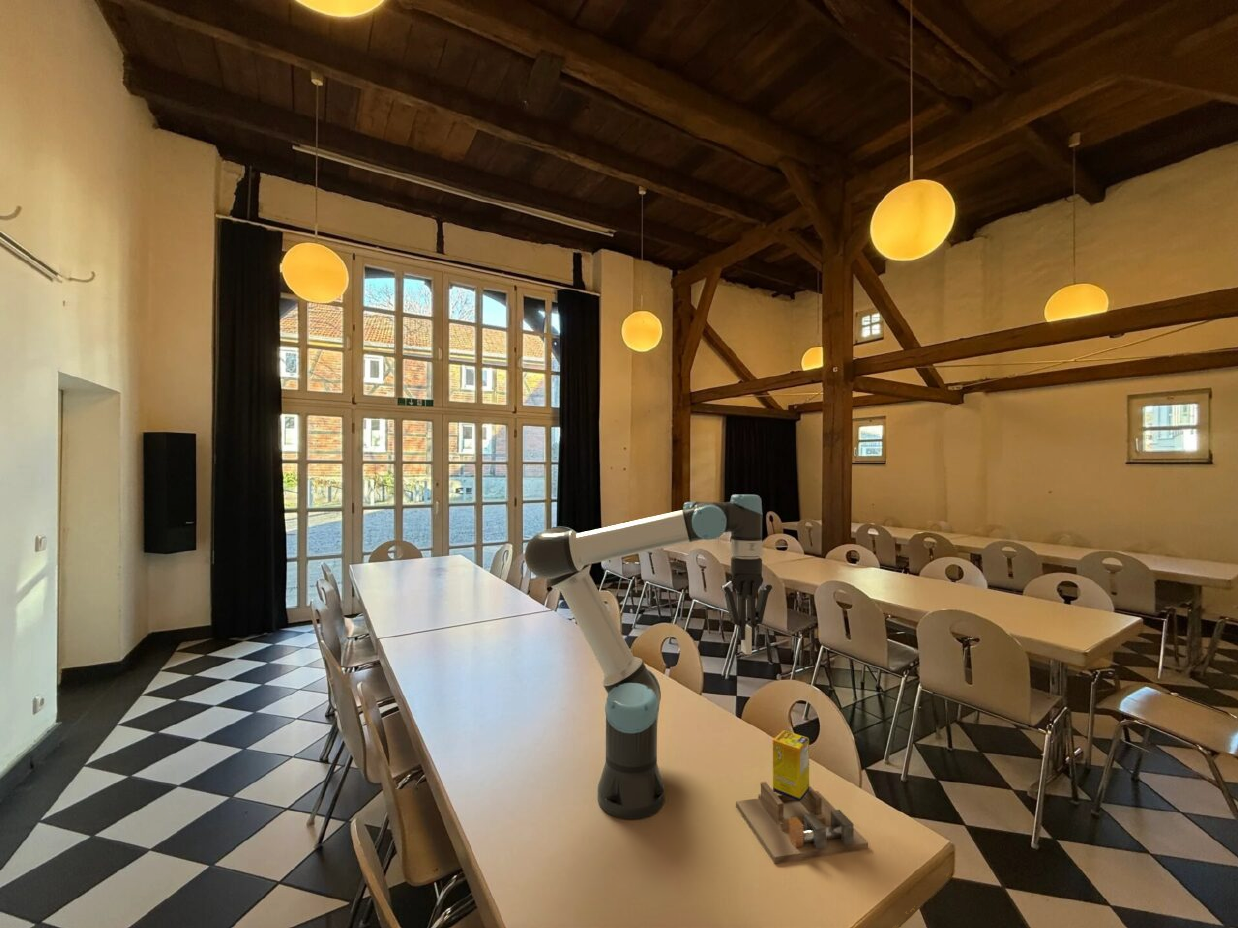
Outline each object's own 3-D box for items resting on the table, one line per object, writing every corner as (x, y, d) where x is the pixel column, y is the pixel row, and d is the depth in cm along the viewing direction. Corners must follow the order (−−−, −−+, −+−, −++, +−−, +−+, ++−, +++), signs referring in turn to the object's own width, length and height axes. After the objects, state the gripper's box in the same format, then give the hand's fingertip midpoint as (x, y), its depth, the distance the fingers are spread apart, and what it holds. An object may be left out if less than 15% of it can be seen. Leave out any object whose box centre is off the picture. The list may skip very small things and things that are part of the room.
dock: (774, 863, 96) (774, 832, 97) (735, 806, 113) (736, 780, 113) (868, 848, 100) (868, 819, 101) (817, 795, 117) (817, 770, 117)
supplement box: (782, 778, 114) (782, 728, 114) (810, 789, 110) (809, 737, 110) (771, 791, 109) (771, 739, 110) (799, 802, 106) (799, 748, 106)
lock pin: (795, 847, 99) (795, 825, 99) (789, 838, 101) (789, 817, 101) (849, 839, 101) (849, 818, 101) (841, 830, 103) (841, 810, 104)
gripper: (728, 559, 122) (727, 659, 122) (778, 558, 125) (778, 655, 124) (715, 554, 130) (715, 649, 129) (763, 553, 132) (763, 646, 132)
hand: (746, 652), depth 127 cm, fingers closed
